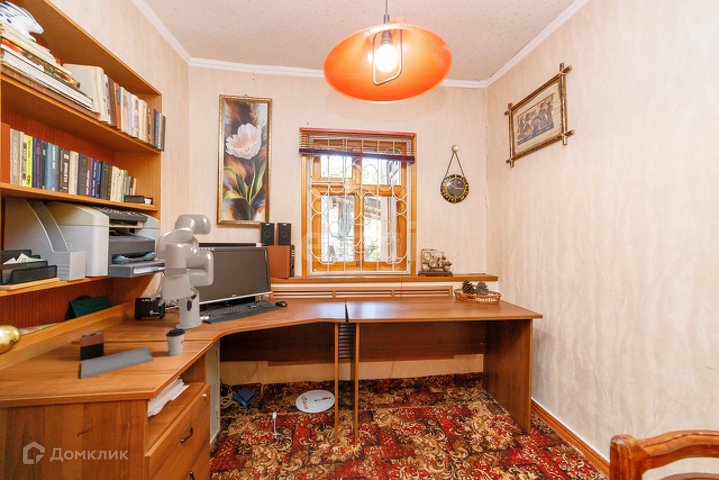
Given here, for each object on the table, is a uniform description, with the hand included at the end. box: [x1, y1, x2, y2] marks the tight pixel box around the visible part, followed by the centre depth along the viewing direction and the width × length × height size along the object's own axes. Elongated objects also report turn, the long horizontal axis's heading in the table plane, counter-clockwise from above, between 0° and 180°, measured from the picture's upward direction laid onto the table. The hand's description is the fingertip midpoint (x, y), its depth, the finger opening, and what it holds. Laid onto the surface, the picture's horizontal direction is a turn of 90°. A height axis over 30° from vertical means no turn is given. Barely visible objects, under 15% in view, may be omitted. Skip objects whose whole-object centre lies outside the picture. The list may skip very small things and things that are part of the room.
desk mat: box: [80, 346, 154, 379], centre depth 106 cm, size 20×16×1 cm
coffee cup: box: [165, 328, 186, 357], centre depth 114 cm, size 7×7×10 cm
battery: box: [79, 331, 105, 361], centre depth 111 cm, size 4×7×10 cm, turn 130°
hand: (175, 312), depth 114 cm, fingers open, 9 cm apart
